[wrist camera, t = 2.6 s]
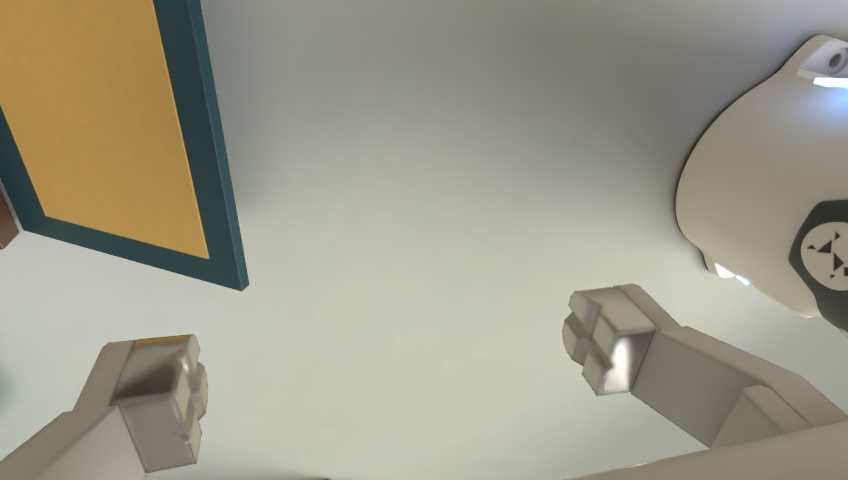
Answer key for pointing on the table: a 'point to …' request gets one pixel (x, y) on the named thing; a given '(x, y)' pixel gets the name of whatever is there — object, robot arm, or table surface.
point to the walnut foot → (6, 224)
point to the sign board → (118, 133)
